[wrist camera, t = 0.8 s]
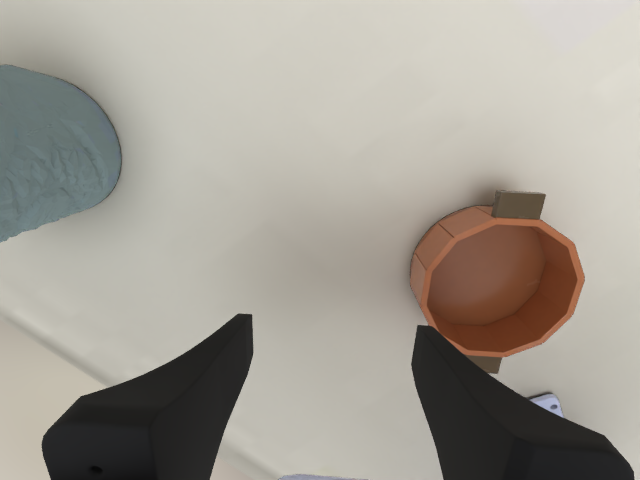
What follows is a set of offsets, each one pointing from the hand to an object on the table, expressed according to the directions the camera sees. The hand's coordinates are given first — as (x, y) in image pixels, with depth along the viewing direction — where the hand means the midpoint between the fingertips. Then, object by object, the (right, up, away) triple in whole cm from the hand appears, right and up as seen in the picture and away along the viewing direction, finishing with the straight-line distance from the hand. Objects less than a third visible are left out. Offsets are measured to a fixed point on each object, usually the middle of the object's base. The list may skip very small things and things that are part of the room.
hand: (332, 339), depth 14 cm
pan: (+10, +2, +9) cm, 14 cm away
